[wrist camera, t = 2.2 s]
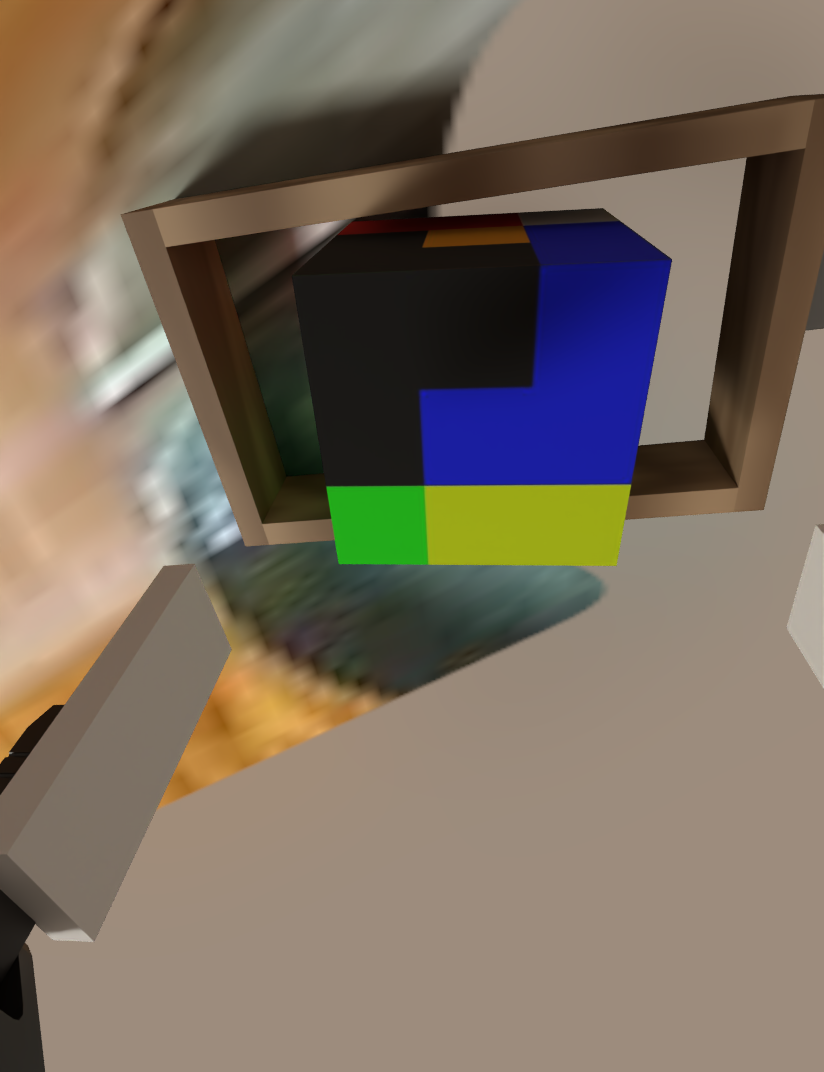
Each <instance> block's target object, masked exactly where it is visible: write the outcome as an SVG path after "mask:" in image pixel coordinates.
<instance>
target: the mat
mask: <svg viewBox="0 0 824 1072" xmlns="http://www.w3.org/2000/svg"><path fill="white" fill-rule="evenodd" d="M823 328H824V251H823V255H822V260H821V264H820V268H819V273H818V277H817V281H816V286H815V290H814V294H813V299H812V303H811V307H810V312H809V316H808V320H807V325H806V329H805V330H813V329H823Z"/></svg>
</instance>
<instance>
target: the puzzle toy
mask: <svg viewBox="0 0 824 1072" xmlns="http://www.w3.org/2000/svg"><path fill="white" fill-rule="evenodd" d="M671 262H672V259H671V258H670V257H668V256H667V255H666V254H664V253H663V252H661V251H660V250H659V249H657V248H656V247H655V246H653V245H652V244H651V243H649V242H648V241H647V240H645V239H644V238H642V237H641V236H640V235H638V234H637V233H636V232H634V231H633V230H632V229H630V228H629V227H628V226H626V225H625V224H624V223H622V222H621V221H619V220H618V219H617V218H615V217H614V216H613V215H611V214H610V213H609V212H607V211H606V210H604V209H603V208H600V209H599V208H597V209H579V210H560V211H540V212H521V213H503V214H483V215H466V216H446V217H430V218H411V219H392V220H373V221H354V222H351V223H350V224H349V225H348V226H347V227H346V228H344V229H343V230H342V231H341V232H340V233H339V234H338V235H337V236H336V237H334V238H333V239H332V240H331V241H330V242H329V243H328V244H327V245H326V246H324V247H323V248H322V249H321V250H320V251H319V252H318V253H317V254H316V255H314V256H313V257H312V258H311V259H310V260H309V261H308V262H307V263H306V264H304V265H303V266H302V267H301V268H300V269H299V270H298V271H297V272H296V273H294V274H293V275H292V280H293V286H294V292H295V298H296V305H297V311H298V317H299V323H300V329H301V335H302V341H303V347H304V354H305V360H306V366H307V372H308V378H309V384H310V390H311V396H312V403H313V409H314V415H315V421H316V427H317V433H318V439H319V445H320V452H321V458H322V464H323V470H324V476H325V482H326V488H327V494H328V501H329V507H330V513H331V519H332V525H333V531H334V537H335V543H336V550H337V556H338V562H339V564H429V565H570V566H616V565H617V559H618V554H619V549H620V543H621V538H622V532H623V526H624V521H625V516H626V510H627V505H628V499H629V494H630V488H631V483H632V477H633V472H634V466H635V461H636V455H637V450H638V444H639V439H640V433H641V428H642V422H643V417H644V411H645V406H646V400H647V394H648V389H649V384H650V378H651V373H652V367H653V361H654V356H655V351H656V345H657V340H658V334H659V329H660V323H661V318H662V312H663V307H664V301H665V296H666V290H667V285H668V279H669V273H670V268H671Z"/></svg>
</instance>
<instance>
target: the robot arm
mask: <svg viewBox="0 0 824 1072" xmlns="http://www.w3.org/2000/svg"><path fill="white" fill-rule="evenodd" d="M787 630H788V631H789V633H790V635H791V636H792V638H793V639H794V641H795V643H796V644H797V646H798V648H799V649H800V651H801V652H802V654H803V656H804V657H805V659H806V661H807V662H808V664H809V665H810V667H811V669H812V670H813V672H814V673H815V675H816V677H817V678H818V680H819V682H820V683H821V685H822V687H823V688H824V524H821V525H816V526H815V530H814V533H813V537H812V540H811V544H810V548H809V551H808V554H807V558H806V562H805V565H804V568H803V572H802V576H801V579H800V582H799V586H798V589H797V593H796V597H795V600H794V603H793V607H792V611H791V614H790V617H789V621H788V625H787ZM231 650H232V649H231V647H230V644H229V642H228V640H227V638H226V635H225V633H224V631H223V628H222V626H221V624H220V622H219V619H218V617H217V615H216V612H215V610H214V608H213V605H212V603H211V601H210V599H209V596H208V594H207V592H206V589H205V587H204V585H203V583H202V580H201V578H200V576H199V573H198V571H197V569H196V566H195V564H186V565H170V566H163V568H162V569H161V571H160V572H159V573H158V575H157V576H156V578H155V579H154V580H153V582H152V583H151V585H150V586H149V587H148V589H147V590H146V592H145V593H144V594H143V596H142V597H141V599H140V600H139V601H138V603H137V604H136V606H135V607H134V608H133V610H132V611H131V613H130V614H129V615H128V617H127V618H126V620H125V621H124V623H123V624H122V625H121V627H120V628H119V630H118V631H117V632H116V634H115V635H114V637H113V638H112V639H111V641H110V642H109V644H108V645H107V646H106V648H105V649H104V651H103V652H102V653H101V655H100V656H99V658H98V659H97V660H96V662H95V663H94V665H93V666H92V667H91V669H90V670H89V672H88V673H87V674H86V676H85V677H84V679H83V680H82V681H81V683H80V684H79V686H78V687H77V688H76V690H75V691H74V693H73V694H72V695H71V697H70V698H69V700H68V701H67V702H66V704H65V705H53V706H52V707H51V708H50V709H48V710H47V711H46V712H45V713H44V714H43V715H41V716H40V717H39V718H38V719H37V720H36V721H34V722H33V723H32V724H31V725H30V726H29V727H28V728H27V729H26V730H25V732H24V733H23V734H22V736H21V737H20V738H19V740H18V741H17V742H16V744H15V745H14V746H13V748H12V749H11V750H10V752H9V757H5V758H4V760H3V761H2V762H1V764H0V1072H45V1066H44V1057H43V1049H42V1040H41V1031H40V1022H39V1013H38V1004H37V995H36V986H35V977H34V968H33V960H32V955H31V953H30V950H29V947H28V945H27V944H26V943H25V941H26V939H27V938H28V936H29V934H30V932H31V930H32V929H33V927H34V925H35V924H36V925H37V926H38V927H39V928H40V929H41V930H43V931H44V932H45V933H46V934H47V935H48V936H49V937H50V938H51V939H52V940H65V941H87V942H88V941H89V942H94V941H95V939H96V937H97V935H98V933H99V931H100V928H101V926H102V924H103V922H104V920H105V918H106V915H107V913H108V911H109V909H110V907H111V905H112V903H113V901H114V899H115V897H116V894H117V892H118V890H119V888H120V886H121V884H122V882H123V880H124V877H125V875H126V873H127V871H128V869H129V867H130V865H131V863H132V860H133V858H134V856H135V854H136V852H137V850H138V848H139V845H140V843H141V841H142V839H143V837H144V835H145V833H146V831H147V828H148V826H149V824H150V822H151V820H152V818H153V816H154V814H155V811H156V809H157V807H158V805H159V803H160V801H161V799H162V797H163V794H164V792H165V790H166V788H167V786H168V784H169V782H170V779H171V777H172V775H173V773H174V771H175V769H176V767H177V765H178V762H179V760H180V758H181V756H182V754H183V752H184V750H185V748H186V745H187V743H188V741H189V739H190V737H191V735H192V733H193V731H194V728H195V726H196V724H197V722H198V720H199V718H200V716H201V714H202V711H203V709H204V707H205V705H206V703H207V701H208V699H209V696H210V694H211V692H212V690H213V688H214V686H215V684H216V682H217V679H218V677H219V675H220V673H221V671H222V669H223V667H224V665H225V662H226V660H227V658H228V656H229V654H230V652H231Z"/></svg>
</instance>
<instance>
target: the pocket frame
mask: <svg viewBox="0 0 824 1072" xmlns="http://www.w3.org/2000/svg"><path fill="white" fill-rule="evenodd" d="M745 157H747V159H746V166H745V173H744V180H743V186H742V192H741V199H740V207H739V212H738V220H737V226H736V232H735V239H734V246H733V252H732V259H731V266H730V273H729V279H728V285H727V292H726V299H725V305H724V312H723V318H722V325H721V333H720V338H719V345H718V352H717V358H716V365H715V372H714V378H713V385H712V392H711V398H710V405H709V411H708V418H707V425H706V431H705V438H704V440H697V441H685V442H675V443H663V444H652V445H640V446H638V450H637V455H636V461H635V466H634V472H633V477H632V483H631V488H630V494H629V499H628V505H627V510H626V516H625V520H627V519H641V518H655V517H669V516H683V515H697V514H712V513H725V512H740V511H755V510H764V507H765V502H766V498H767V494H768V489H769V485H770V481H771V476H772V472H773V468H774V463H775V459H776V455H777V450H778V446H779V442H780V437H781V433H782V428H783V424H784V420H785V416H786V411H787V407H788V403H789V398H790V394H791V390H792V385H793V381H794V376H795V372H796V368H797V364H798V359H799V355H800V351H801V346H802V342H803V337H804V333H805V329H806V325H807V320H808V316H809V312H810V307H811V303H812V299H813V294H814V290H815V286H816V281H817V277H818V273H819V268H820V264H821V260H822V255H823V251H824V94H817V95H799V96H788V97H783V98H777V99H770V100H764V101H759V102H753V103H746V104H740V105H734V106H729V107H723V108H717V109H711V110H705V111H699V112H693V113H687V114H681V115H675V116H669V117H664V118H657V119H651V120H645V121H639V122H633V123H627V124H622V125H616V126H610V127H603V128H597V129H591V130H585V131H579V132H574V133H567V134H561V135H555V136H549V137H544V138H537V139H532V140H526V141H520V142H514V143H508V144H502V145H496V146H490V147H484V148H478V149H472V150H466V151H460V152H454V153H448V154H442V155H436V156H430V157H424V158H418V159H412V160H406V161H400V162H394V163H388V164H382V165H376V166H370V167H364V168H358V169H352V170H346V171H340V172H335V173H329V174H323V175H317V176H311V177H305V178H299V179H293V180H287V181H281V182H275V183H269V184H263V185H257V186H251V187H245V188H239V189H233V190H227V191H221V192H215V193H209V194H203V195H197V196H191V197H185V198H179V199H174V200H170V201H167V202H163V203H160V204H156V205H153V206H149V207H146V208H142V209H139V210H135V211H132V212H128V213H125V214H121V217H122V219H123V222H124V225H125V227H126V230H127V233H128V235H129V238H130V241H131V243H132V246H133V248H134V251H135V254H136V256H137V259H138V262H139V264H140V267H141V270H142V272H143V275H144V278H145V280H146V283H147V286H148V288H149V291H150V294H151V296H152V299H153V302H154V304H155V307H156V309H157V312H158V315H159V317H160V320H161V323H162V325H163V328H164V331H165V333H166V336H167V339H168V341H169V344H170V347H171V349H172V352H173V355H174V357H175V360H176V363H177V365H178V368H179V370H180V373H181V376H182V378H183V381H184V384H185V386H186V389H187V392H188V394H189V397H190V400H191V402H192V405H193V408H194V410H195V413H196V416H197V418H198V421H199V424H200V426H201V429H202V431H203V434H204V437H205V439H206V442H207V445H208V447H209V450H210V453H211V455H212V458H213V461H214V463H215V466H216V469H217V471H218V474H219V477H220V479H221V482H222V485H223V487H224V490H225V492H226V495H227V498H228V500H229V503H230V506H231V508H232V511H233V514H234V516H235V519H236V522H237V524H238V527H239V530H240V532H241V535H242V538H243V540H244V543H245V546H258V545H272V544H286V543H300V542H314V541H329V540H335V537H334V531H333V525H332V519H331V513H330V507H329V501H328V494H327V488H326V482H325V476H324V473H323V474H311V475H300V476H289V477H286V473H285V470H284V467H283V463H282V460H281V457H280V454H279V450H278V447H277V444H276V440H275V437H274V434H273V430H272V427H271V424H270V421H269V417H268V414H267V411H266V407H265V404H264V401H263V398H262V394H261V391H260V388H259V384H258V381H257V378H256V374H255V371H254V368H253V365H252V361H251V358H250V355H249V351H248V348H247V345H246V341H245V338H244V335H243V332H242V328H241V325H240V322H239V318H238V315H237V312H236V308H235V305H234V302H233V299H232V295H231V292H230V289H229V285H228V282H227V279H226V276H225V272H224V269H223V266H222V262H221V259H220V256H219V252H218V249H217V246H216V243H215V239H222V238H228V237H235V236H241V235H248V234H254V233H261V232H267V231H274V230H280V229H286V228H293V227H299V226H306V225H312V224H319V223H325V222H332V221H338V220H345V219H351V218H358V217H364V216H370V215H377V214H383V213H390V212H396V211H403V210H409V209H416V208H422V207H429V206H435V205H442V204H448V203H454V202H460V201H467V200H474V199H480V198H486V197H493V196H499V195H506V194H513V193H519V192H525V191H532V190H539V189H545V188H552V187H557V186H564V185H571V184H577V183H584V182H590V181H597V180H603V179H609V178H616V177H622V176H629V175H635V174H642V173H648V172H655V171H661V170H668V169H674V168H681V167H687V166H694V165H700V164H707V163H713V162H719V161H726V160H732V159H738V158H745Z"/></svg>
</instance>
